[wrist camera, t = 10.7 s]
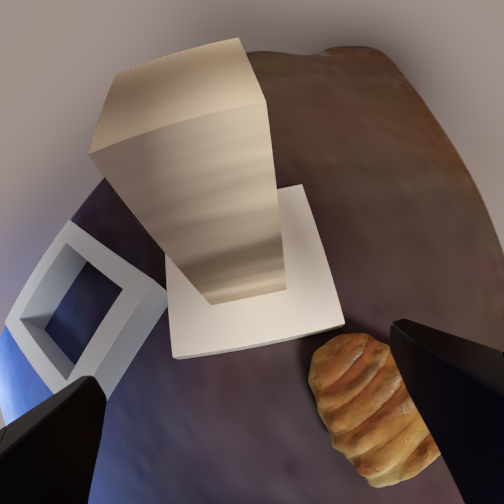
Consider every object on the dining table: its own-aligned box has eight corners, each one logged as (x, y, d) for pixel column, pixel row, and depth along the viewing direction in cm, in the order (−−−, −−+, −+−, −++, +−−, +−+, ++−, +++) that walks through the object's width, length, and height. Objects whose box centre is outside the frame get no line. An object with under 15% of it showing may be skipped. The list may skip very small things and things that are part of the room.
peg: (286, 289, 17) (265, 101, 6) (211, 305, 17) (88, 154, 6) (270, 224, 19) (238, 37, 8) (203, 240, 20) (115, 74, 8)
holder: (173, 297, 19) (154, 280, 16) (98, 415, 16) (71, 414, 13) (88, 238, 22) (68, 219, 20) (29, 333, 19) (4, 322, 17)
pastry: (277, 383, 16) (273, 381, 13) (362, 310, 17) (378, 289, 14) (374, 489, 12) (393, 509, 9) (453, 411, 13) (485, 411, 10)
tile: (342, 327, 17) (345, 323, 16) (178, 359, 17) (172, 357, 16) (301, 192, 21) (301, 184, 20) (169, 223, 22) (164, 215, 21)
